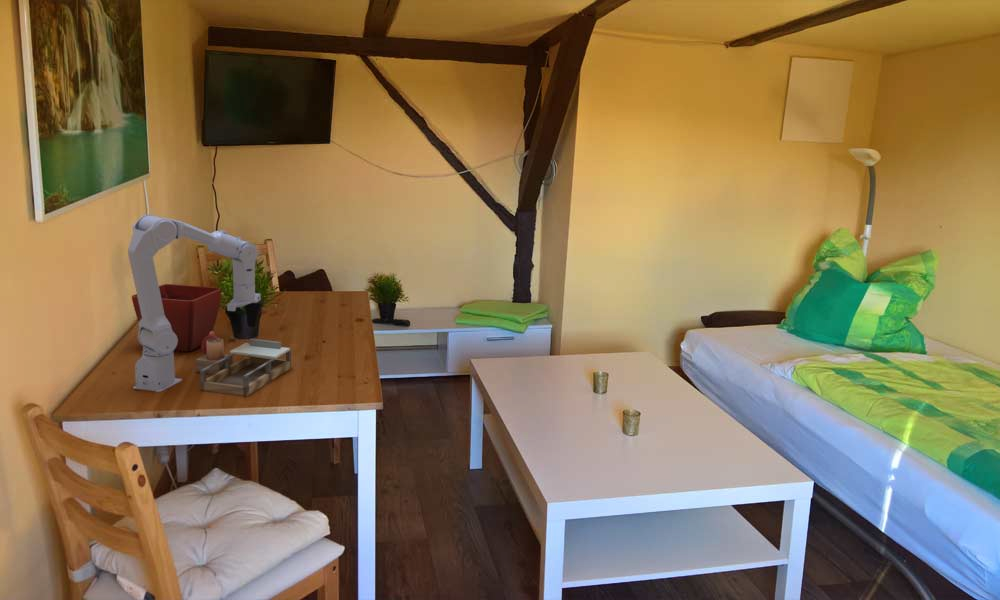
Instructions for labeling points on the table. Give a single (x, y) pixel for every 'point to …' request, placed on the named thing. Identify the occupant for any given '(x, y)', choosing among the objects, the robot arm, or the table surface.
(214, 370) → the stand
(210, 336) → the onion
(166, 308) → the plant pot
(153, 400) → the table surface
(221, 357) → the pot
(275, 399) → the table surface
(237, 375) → the cold frame
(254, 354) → the lid
